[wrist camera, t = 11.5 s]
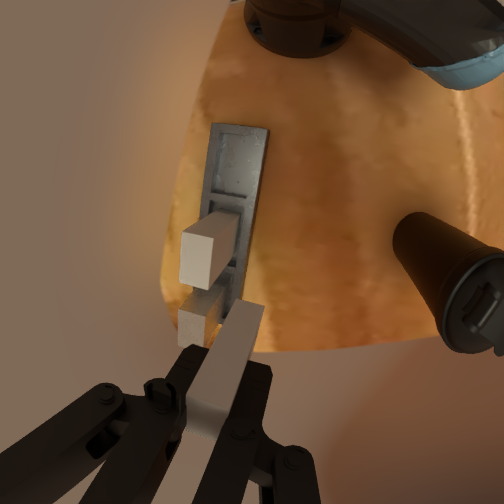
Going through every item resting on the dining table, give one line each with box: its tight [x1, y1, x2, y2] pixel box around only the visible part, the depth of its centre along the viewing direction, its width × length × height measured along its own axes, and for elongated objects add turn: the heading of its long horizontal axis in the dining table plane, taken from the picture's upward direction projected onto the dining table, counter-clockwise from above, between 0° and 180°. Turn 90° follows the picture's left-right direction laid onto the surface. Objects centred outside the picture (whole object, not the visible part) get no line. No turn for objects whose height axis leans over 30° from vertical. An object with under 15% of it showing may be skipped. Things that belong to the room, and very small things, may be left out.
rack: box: [178, 123, 270, 348], centre depth 34 cm, size 30×8×13 cm, turn 171°
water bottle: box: [393, 212, 504, 356], centre depth 24 cm, size 10×10×23 cm
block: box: [179, 209, 242, 290], centre depth 34 cm, size 6×4×12 cm, turn 171°
